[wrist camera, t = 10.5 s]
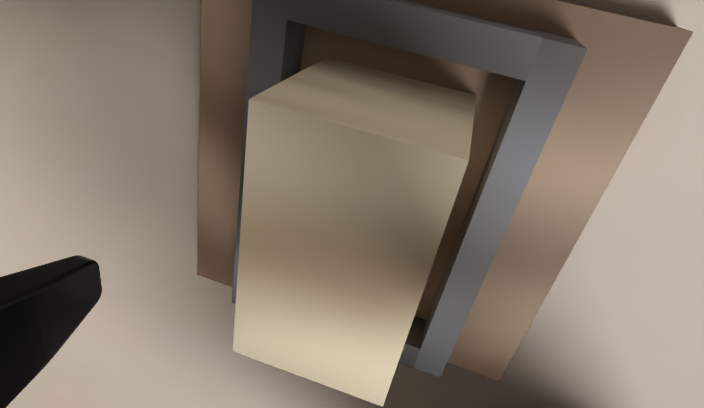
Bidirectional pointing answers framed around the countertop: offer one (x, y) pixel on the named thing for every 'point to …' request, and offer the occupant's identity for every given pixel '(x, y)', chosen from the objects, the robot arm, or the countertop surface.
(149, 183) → the countertop surface
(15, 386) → the robot arm
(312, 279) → the maple block
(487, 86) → the nest board
